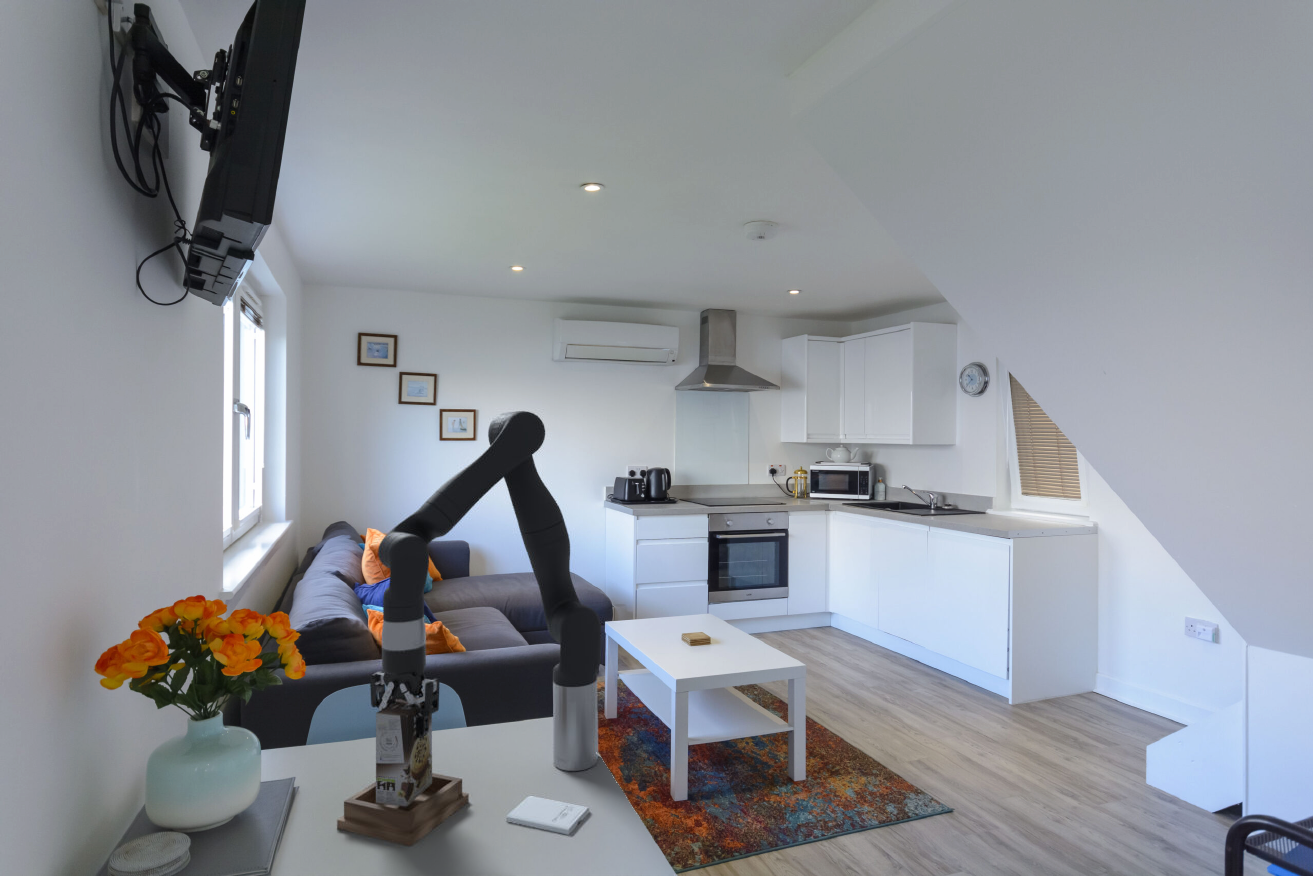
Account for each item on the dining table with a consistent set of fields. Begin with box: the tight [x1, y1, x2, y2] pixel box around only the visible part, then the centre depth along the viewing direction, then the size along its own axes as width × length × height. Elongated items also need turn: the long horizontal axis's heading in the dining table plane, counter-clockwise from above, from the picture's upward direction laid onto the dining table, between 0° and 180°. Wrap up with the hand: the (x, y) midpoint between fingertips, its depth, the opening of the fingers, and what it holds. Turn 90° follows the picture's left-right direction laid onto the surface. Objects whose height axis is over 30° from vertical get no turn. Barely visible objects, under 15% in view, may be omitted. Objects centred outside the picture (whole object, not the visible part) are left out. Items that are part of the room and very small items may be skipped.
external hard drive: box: [506, 795, 590, 836], centre depth 132 cm, size 2×8×12 cm
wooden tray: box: [336, 772, 470, 847], centre depth 133 cm, size 16×16×4 cm
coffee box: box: [375, 696, 433, 807], centre depth 133 cm, size 9×6×16 cm
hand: (404, 733), depth 133 cm, fingers closed on coffee box, 7 cm apart
